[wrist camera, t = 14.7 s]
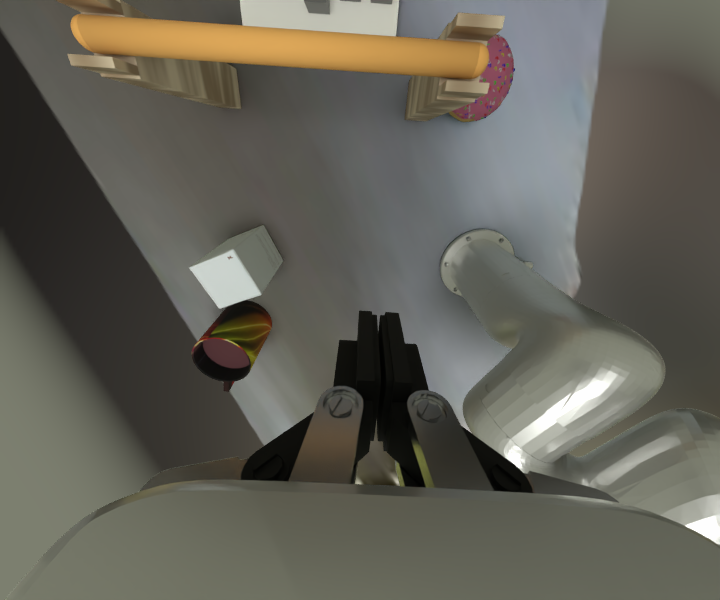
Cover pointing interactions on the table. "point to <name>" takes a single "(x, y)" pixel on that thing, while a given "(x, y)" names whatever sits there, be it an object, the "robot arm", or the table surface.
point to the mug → (232, 342)
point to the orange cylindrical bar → (280, 47)
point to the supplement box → (239, 267)
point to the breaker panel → (324, 15)
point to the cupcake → (491, 82)
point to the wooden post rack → (220, 78)
